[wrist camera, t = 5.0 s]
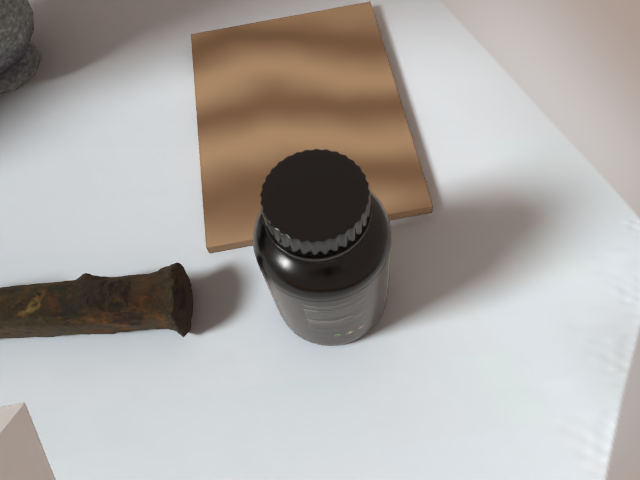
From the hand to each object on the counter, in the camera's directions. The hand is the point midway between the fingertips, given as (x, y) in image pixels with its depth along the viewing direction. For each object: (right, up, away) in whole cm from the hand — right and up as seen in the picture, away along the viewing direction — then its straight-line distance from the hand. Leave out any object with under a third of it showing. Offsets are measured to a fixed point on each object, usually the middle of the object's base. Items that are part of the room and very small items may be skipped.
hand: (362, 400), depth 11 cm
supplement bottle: (0, 0, +23) cm, 23 cm away
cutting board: (-2, +12, +30) cm, 32 cm away
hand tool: (-18, -3, +24) cm, 30 cm away
